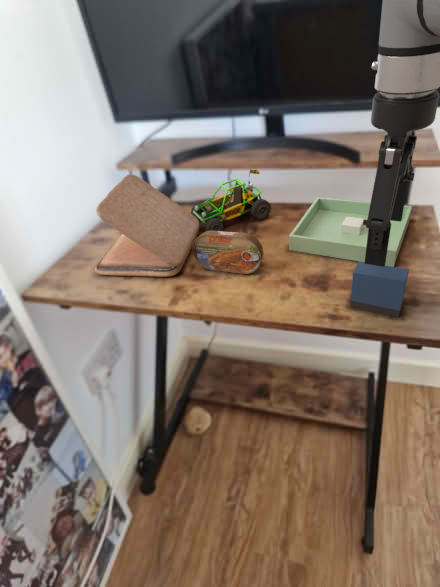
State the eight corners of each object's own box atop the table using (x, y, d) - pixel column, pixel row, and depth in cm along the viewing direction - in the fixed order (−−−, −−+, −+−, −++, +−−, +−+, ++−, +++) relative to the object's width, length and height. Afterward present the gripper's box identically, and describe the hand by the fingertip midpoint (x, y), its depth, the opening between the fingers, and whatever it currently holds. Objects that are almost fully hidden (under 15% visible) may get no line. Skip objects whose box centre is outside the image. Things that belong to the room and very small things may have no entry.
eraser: (402, 305, 69) (409, 269, 65) (398, 317, 67) (405, 281, 63) (354, 295, 73) (358, 260, 68) (349, 307, 71) (353, 272, 66)
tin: (194, 268, 87) (188, 234, 82) (200, 260, 89) (194, 226, 84) (261, 276, 81) (259, 240, 76) (266, 268, 83) (264, 232, 78)
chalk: (363, 226, 90) (364, 218, 89) (359, 235, 88) (360, 227, 87) (345, 224, 92) (346, 216, 91) (341, 232, 90) (341, 224, 88)
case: (180, 279, 84) (164, 209, 74) (90, 276, 89) (64, 211, 79) (204, 230, 99) (193, 167, 90) (127, 230, 105) (109, 171, 95)
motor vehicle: (191, 220, 105) (184, 182, 98) (256, 199, 110) (253, 161, 103) (208, 238, 96) (202, 197, 90) (278, 215, 101) (277, 174, 95)
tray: (409, 220, 91) (412, 206, 89) (393, 267, 78) (396, 251, 76) (316, 210, 101) (317, 196, 98) (289, 250, 88) (288, 235, 86)
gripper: (392, 69, 59) (376, 202, 72) (348, 121, 43) (337, 281, 56) (450, 67, 56) (422, 206, 69) (426, 122, 39) (395, 292, 52)
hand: (384, 240), depth 62 cm, fingers open, 13 cm apart
